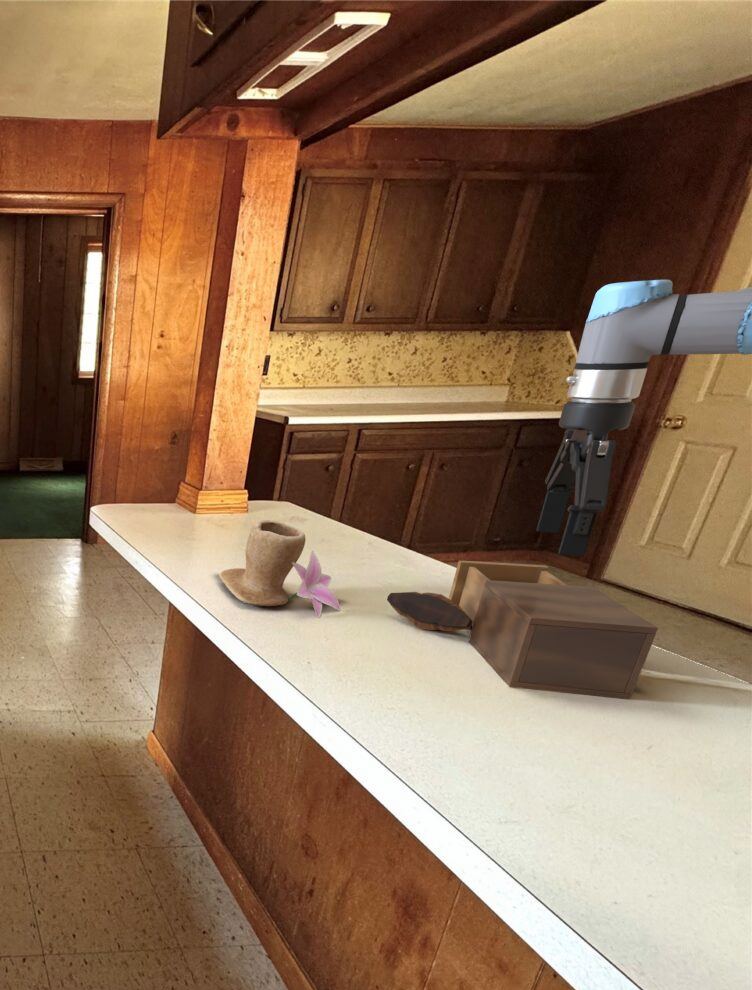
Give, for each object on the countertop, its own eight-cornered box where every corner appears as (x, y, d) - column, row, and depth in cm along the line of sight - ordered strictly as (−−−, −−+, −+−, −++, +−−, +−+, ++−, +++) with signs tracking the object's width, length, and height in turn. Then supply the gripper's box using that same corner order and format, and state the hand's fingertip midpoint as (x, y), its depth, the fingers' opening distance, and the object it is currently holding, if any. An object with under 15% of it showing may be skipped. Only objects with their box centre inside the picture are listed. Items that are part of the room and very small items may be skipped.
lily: (280, 624, 120) (316, 587, 114) (254, 580, 128) (286, 543, 122) (331, 635, 123) (369, 600, 117) (303, 592, 132) (336, 556, 125)
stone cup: (304, 611, 122) (317, 533, 117) (237, 610, 124) (247, 533, 118) (277, 583, 136) (287, 512, 131) (217, 582, 138) (225, 512, 132)
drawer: (435, 595, 125) (447, 550, 121) (516, 601, 121) (530, 555, 118) (477, 639, 107) (492, 588, 104) (573, 648, 103) (591, 595, 100)
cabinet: (468, 641, 109) (485, 579, 105) (571, 650, 104) (593, 586, 100) (509, 686, 95) (530, 617, 91) (630, 699, 90) (658, 627, 87)
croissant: (396, 577, 117) (407, 586, 120) (376, 610, 118) (386, 619, 121) (481, 603, 106) (490, 613, 109) (457, 640, 107) (467, 649, 110)
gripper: (544, 393, 106) (511, 521, 114) (591, 408, 86) (547, 563, 94) (607, 393, 103) (567, 525, 110) (671, 408, 83) (618, 569, 90)
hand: (558, 543), depth 102 cm, fingers open, 13 cm apart
